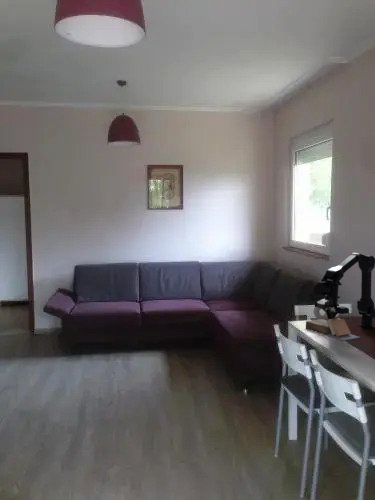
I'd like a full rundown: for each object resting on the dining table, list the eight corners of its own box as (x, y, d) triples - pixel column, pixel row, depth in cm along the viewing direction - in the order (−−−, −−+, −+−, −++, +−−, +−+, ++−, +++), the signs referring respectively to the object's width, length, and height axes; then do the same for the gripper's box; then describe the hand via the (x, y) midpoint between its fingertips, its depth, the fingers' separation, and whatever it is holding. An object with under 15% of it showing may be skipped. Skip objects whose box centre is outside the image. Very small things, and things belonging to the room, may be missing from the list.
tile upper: (341, 320, 233) (343, 319, 232) (348, 335, 229) (351, 333, 228) (330, 322, 230) (332, 320, 228) (337, 336, 226) (339, 335, 224)
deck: (322, 326, 248) (322, 318, 248) (341, 332, 236) (342, 324, 236) (305, 328, 243) (306, 321, 242) (325, 335, 230) (325, 327, 230)
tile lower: (337, 319, 236) (340, 317, 234) (344, 333, 232) (346, 332, 231) (326, 320, 232) (328, 319, 231) (332, 335, 228) (335, 333, 227)
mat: (342, 332, 236) (342, 331, 236) (359, 338, 226) (359, 337, 226) (325, 335, 230) (325, 334, 230) (342, 340, 220) (342, 339, 220)
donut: (330, 320, 262) (331, 303, 261) (330, 321, 259) (331, 304, 258) (313, 318, 265) (313, 301, 264) (312, 320, 262) (313, 303, 261)
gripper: (307, 291, 238) (306, 320, 239) (334, 298, 222) (332, 329, 223) (323, 290, 243) (321, 318, 245) (350, 297, 227) (348, 327, 228)
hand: (330, 323), depth 235 cm, fingers closed
